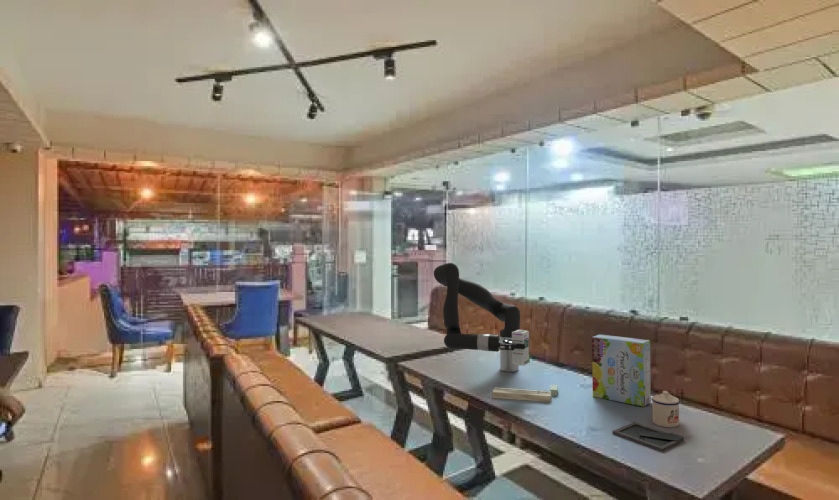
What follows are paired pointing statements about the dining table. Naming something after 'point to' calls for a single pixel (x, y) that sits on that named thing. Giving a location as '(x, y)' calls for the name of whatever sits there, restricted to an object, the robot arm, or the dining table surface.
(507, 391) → the birch board
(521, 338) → the syrup box
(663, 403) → the teacup with lid
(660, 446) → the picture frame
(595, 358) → the snack box
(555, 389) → the stop block
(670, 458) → the dining table surface
